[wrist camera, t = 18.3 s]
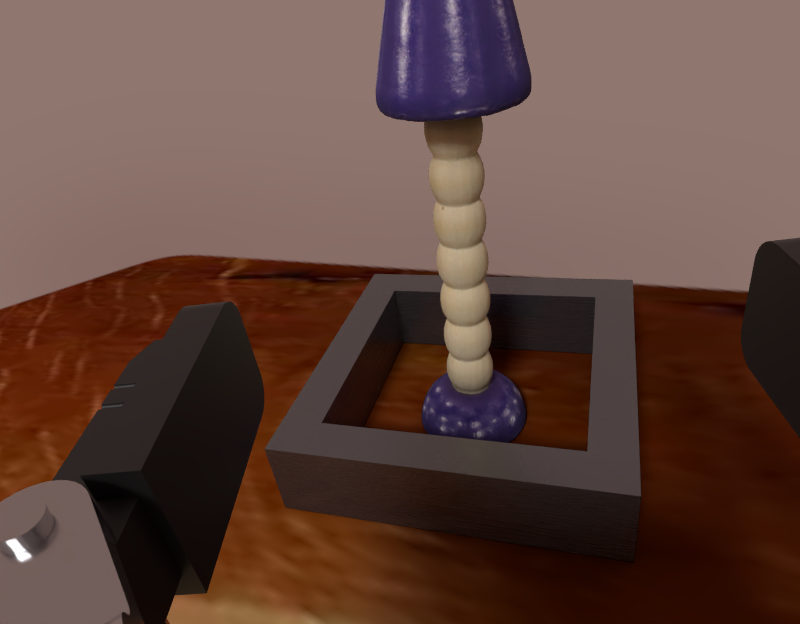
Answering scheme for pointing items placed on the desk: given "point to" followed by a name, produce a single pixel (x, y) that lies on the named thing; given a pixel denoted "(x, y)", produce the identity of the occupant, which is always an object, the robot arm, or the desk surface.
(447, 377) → the toy lamp
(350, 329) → the square frame
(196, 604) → the desk surface
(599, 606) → the desk surface
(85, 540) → the robot arm
